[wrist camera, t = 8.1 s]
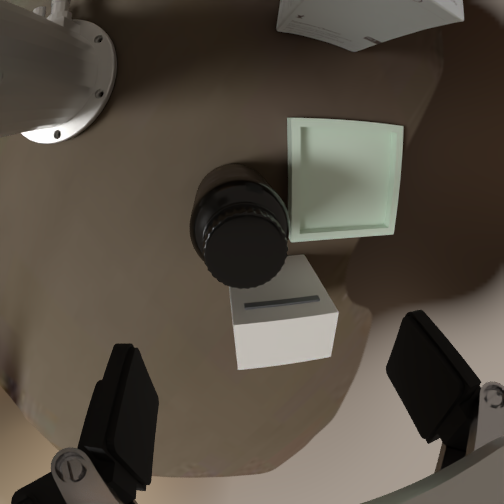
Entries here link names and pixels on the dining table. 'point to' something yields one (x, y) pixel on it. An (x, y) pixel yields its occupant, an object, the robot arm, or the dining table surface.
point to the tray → (342, 178)
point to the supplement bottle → (239, 226)
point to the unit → (283, 318)
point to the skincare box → (364, 19)
